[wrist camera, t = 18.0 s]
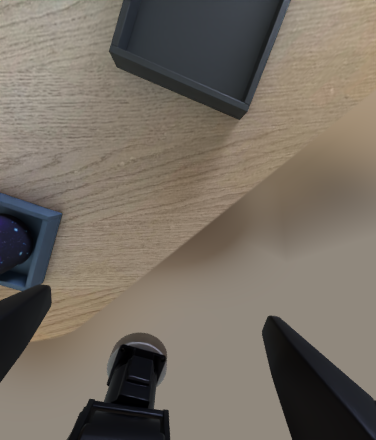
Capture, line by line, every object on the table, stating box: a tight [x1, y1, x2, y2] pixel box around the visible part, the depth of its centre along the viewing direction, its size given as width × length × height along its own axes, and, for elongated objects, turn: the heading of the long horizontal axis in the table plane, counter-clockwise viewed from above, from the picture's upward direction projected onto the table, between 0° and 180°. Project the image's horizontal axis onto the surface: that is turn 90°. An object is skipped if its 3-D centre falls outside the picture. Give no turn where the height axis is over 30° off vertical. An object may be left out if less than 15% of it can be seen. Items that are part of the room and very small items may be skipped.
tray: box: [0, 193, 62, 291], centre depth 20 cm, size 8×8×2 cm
